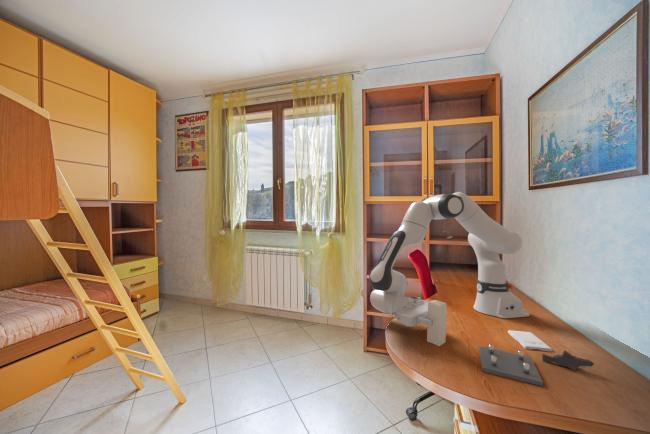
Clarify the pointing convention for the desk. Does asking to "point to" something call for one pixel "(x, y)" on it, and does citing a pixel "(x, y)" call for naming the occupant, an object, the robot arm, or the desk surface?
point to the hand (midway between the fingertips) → (439, 320)
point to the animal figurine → (568, 360)
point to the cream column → (437, 322)
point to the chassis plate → (509, 365)
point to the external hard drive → (529, 340)
